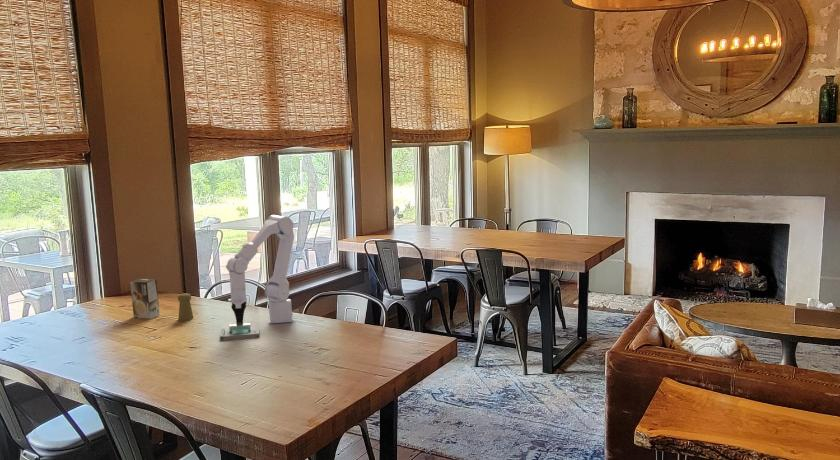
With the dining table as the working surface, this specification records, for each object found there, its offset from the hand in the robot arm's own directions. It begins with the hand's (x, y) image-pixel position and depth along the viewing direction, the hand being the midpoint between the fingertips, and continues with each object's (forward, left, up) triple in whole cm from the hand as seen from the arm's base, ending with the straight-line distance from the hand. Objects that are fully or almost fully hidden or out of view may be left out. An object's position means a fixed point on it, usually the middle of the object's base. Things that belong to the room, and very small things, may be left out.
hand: (240, 321), depth 251 cm
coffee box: (+40, -33, -4) cm, 52 cm away
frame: (0, +5, -4) cm, 6 cm away
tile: (0, +4, -4) cm, 6 cm away
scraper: (0, 0, -4) cm, 4 cm away
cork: (+23, -24, -4) cm, 33 cm away
